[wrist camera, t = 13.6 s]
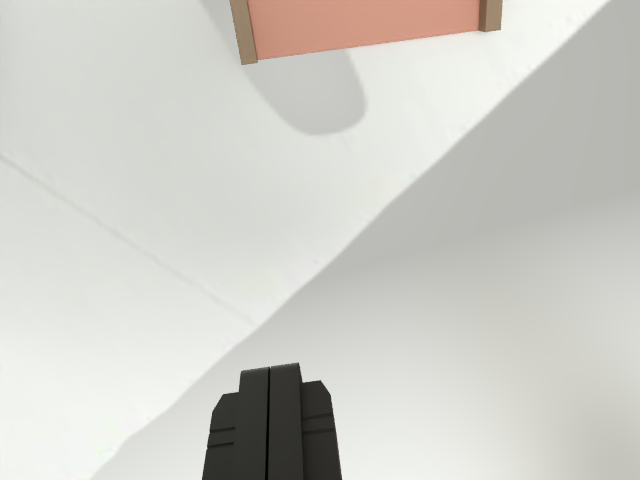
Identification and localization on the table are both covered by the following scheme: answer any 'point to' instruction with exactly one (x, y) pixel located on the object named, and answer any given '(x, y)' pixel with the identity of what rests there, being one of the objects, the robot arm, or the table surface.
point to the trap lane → (351, 23)
